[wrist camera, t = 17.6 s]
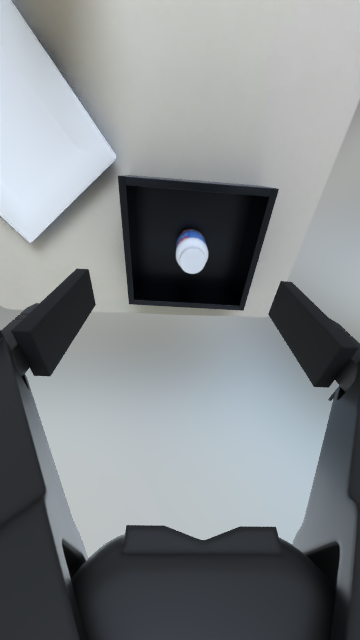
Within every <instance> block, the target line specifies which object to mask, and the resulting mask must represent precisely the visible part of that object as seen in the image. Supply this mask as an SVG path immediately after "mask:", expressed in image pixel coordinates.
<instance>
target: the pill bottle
mask: <svg viewBox="0 0 360 640" xmlns="http://www.w3.org/2000/svg"><path fill="white" fill-rule="evenodd" d="M207 259H208V249H207V245H206V242H205V239H204V237H203V235H202V234H201V233H200V232H199V231H198V230H195V229H187V230H184V231H183V232H182V233H181V234H180V235H179V236H178V238H177V242H176V260H177V262H178V264H179V265H180V266H181V268H182V269H183V270H184V271H185V272H187V273H189V274H195V273H198V272H200V271H201V270H202V269H203V268H204V266H205V263H206V262H207Z"/></svg>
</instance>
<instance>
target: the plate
mask: <svg viewBox="0 0 360 640" xmlns="http://www.w3.org/2000/svg"><path fill="white" fill-rule="evenodd" d="M115 160H116V154H115V153H114V151H113V150H112V148H111V147H110V146H109V144H108V143H107V141H106V140H105V138H104V137H103V135H102V134H101V132H100V131H99V129H98V128H97V126H96V125H95V123H94V122H93V120H92V119H91V117H90V116H89V115H88V113H87V112H86V110H85V109H84V107H83V106H82V104H81V103H80V101H79V100H78V98H77V97H76V95H75V94H74V92H73V91H72V89H71V88H70V86H69V85H68V84H67V82H66V81H65V79H64V78H63V76H62V75H61V73H60V72H59V70H58V69H57V67H56V66H55V64H54V63H53V61H52V60H51V58H50V57H49V55H48V54H47V53H46V51H45V50H44V48H43V47H42V45H41V44H40V42H39V41H38V39H37V38H36V36H35V35H34V33H33V32H32V30H31V29H30V27H29V26H28V24H27V23H26V22H25V20H24V19H23V17H22V16H21V14H20V13H19V11H18V10H17V8H16V7H15V5H14V4H13V2H12V1H11V0H0V216H1V217H2V218H4V219H5V220H6V221H7V222H8V223H9V224H10V225H11V226H12V227H13V228H14V229H15V230H16V231H18V232H19V233H20V234H21V235H22V236H23V237H24V238H25V239H26V240H27V241H28V242H31V243H32V242H33V241H34V240H35V239H36V238H37V237H38V236H39V235H40V234H41V233H42V232H43V231H44V230H45V229H46V228H47V227H48V226H49V225H50V224H51V223H52V222H53V221H54V220H55V219H56V218H57V217H58V216H59V215H60V214H61V213H62V212H63V211H64V210H65V209H66V208H67V207H68V206H69V205H70V204H71V203H72V202H73V201H74V200H75V199H76V198H77V197H78V196H79V195H80V194H81V193H82V192H83V191H84V190H85V189H86V188H87V187H88V186H89V185H90V184H91V183H92V182H93V181H94V180H95V179H96V178H97V177H98V176H99V175H100V174H101V173H102V172H104V171H105V170H106V169H107V168H108V167H109V166H110V165H111V164H112V163H113V162H114V161H115Z"/></svg>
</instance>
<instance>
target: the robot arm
mask: <svg viewBox="0 0 360 640" xmlns="http://www.w3.org/2000/svg"><path fill="white" fill-rule="evenodd" d="M94 306H95V300H94V294H93V289H92V284H91V279H90V274H89V269H76V270H75V271H74V272H73V273H72V274H71V275H70V276H69V277H67V278H66V279H65V280H64V281H63V282H62V283H61V284H60V285H59V286H58V287H57V288H56V289H55V290H54V291H53V292H51V293H50V294H49V295H48V296H47V297H46V298H45V299H44V300H43V301H42V302H41V303H36V304H34V305H32V306H30V307H28V308H26V309H25V310H24V311H23V312H22V313H21V314H20V315H18V316H17V317H16V318H15V320H13V321H12V322H10V323H9V324H8V325H7V326H6V327H5V328H4V329H3V330H1V331H0V640H360V343H358V342H357V341H356V340H355V339H354V338H353V337H352V336H350V334H349V333H348V332H347V331H345V329H344V328H343V327H342V326H340V325H339V324H338V323H336V322H335V321H333V320H331V319H329V318H328V317H327V316H326V315H325V314H324V313H323V312H322V311H321V310H320V309H319V308H318V307H317V306H316V305H315V304H314V303H313V302H312V301H310V300H309V299H308V298H307V297H306V296H305V295H304V294H303V293H302V292H301V291H300V290H299V289H298V288H297V287H296V286H295V285H294V284H293V283H292V282H284V281H281V282H280V285H279V287H278V290H277V293H276V295H275V298H274V301H273V303H272V306H271V309H270V311H269V314H268V315H269V316H270V318H271V319H272V321H273V322H274V324H275V326H276V327H277V329H278V330H279V332H280V334H281V335H282V337H283V338H284V340H285V341H286V343H287V345H288V346H289V348H290V349H291V351H292V353H293V354H294V356H295V357H296V359H297V360H298V362H299V364H300V365H301V367H302V368H303V370H304V372H305V373H306V375H307V376H308V378H309V379H310V381H311V383H312V384H313V386H314V387H329V386H330V385H331V384H332V382H333V381H334V380H336V381H337V383H338V384H339V385H340V386H339V387H338V388H337V389H336V391H335V392H334V393H333V394H332V395H331V397H330V398H329V400H330V401H331V400H332V399H333V404H332V408H331V412H330V416H329V420H328V424H327V429H326V432H325V436H324V440H323V444H322V449H321V453H320V457H319V461H318V465H317V469H316V473H315V477H314V482H313V486H312V489H311V494H310V498H309V502H308V506H307V510H306V514H305V518H304V521H303V523H302V526H301V527H300V529H299V531H298V532H297V534H296V536H295V538H294V541H293V544H290V543H288V542H287V541H284V540H283V539H281V538H279V537H278V533H277V530H276V527H238V528H235V529H233V530H230V531H228V532H225V533H222V534H220V535H218V536H215V537H212V538H210V539H207V540H199V539H197V538H194V537H191V536H189V535H186V534H184V533H181V532H179V531H176V530H174V529H171V528H168V527H166V526H140V525H139V526H138V525H137V526H136V525H127V526H126V533H125V534H124V535H121V536H118V537H116V538H115V539H113V540H111V541H109V542H108V543H106V544H105V545H103V546H102V547H101V548H99V549H98V550H97V551H96V552H95V553H94V554H93V555H92V556H91V557H89V558H88V556H87V554H86V551H85V547H84V545H83V542H82V539H81V537H80V534H79V532H78V530H77V528H76V525H75V523H74V521H73V518H72V516H71V513H70V509H69V506H68V503H67V500H66V497H65V494H64V491H63V488H62V485H61V482H60V479H59V475H58V472H57V469H56V466H55V463H54V460H53V457H52V454H51V451H50V448H49V445H48V441H47V438H46V435H45V432H44V429H43V426H42V423H41V420H40V417H39V414H38V411H37V408H36V404H35V401H34V398H33V395H32V392H31V389H30V386H29V383H28V380H27V377H26V375H25V372H26V371H27V370H28V369H29V367H30V369H31V371H32V372H33V375H34V376H50V375H51V374H52V373H53V371H54V370H55V368H56V366H57V365H58V363H59V362H60V360H61V359H62V357H63V355H64V354H65V352H66V351H67V349H68V347H69V346H70V344H71V343H72V341H73V339H74V338H75V336H76V335H77V333H78V332H79V330H80V329H81V327H82V325H83V324H84V322H85V321H86V319H87V317H88V316H89V314H90V313H91V311H92V310H93V308H94Z"/></svg>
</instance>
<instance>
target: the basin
mask: <svg viewBox="0 0 360 640" xmlns="http://www.w3.org/2000/svg"><path fill="white" fill-rule="evenodd" d="M118 183H119V194H120V205H121V217H122V228H123V240H124V251H125V263H126V274H127V286H128V297H129V304H136V305H154V306H172V307H190V308H208V309H226V310H244V307H245V303H246V300H247V296H248V293H249V289H250V286H251V283H252V279H253V276H254V272H255V269H256V265H257V262H258V258H259V255H260V252H261V248H262V245H263V241H264V238H265V234H266V231H267V227H268V224H269V221H270V217H271V214H272V210H273V207H274V203H275V200H276V197H277V193H278V190H279V189H276V188H270V187H264V186H255V185H243V184H231V183H218V182H206V181H194V180H182V179H169V178H157V177H145V176H132V175H126V176H118ZM187 229H195V230H198V231H199V232H200V233H201V234H202V235H203V237H204V239H205V242H206V245H207V249H208V259H207V262H206V263H205V266H204V268H203V269H202V270H201V271H200V272H198V273H195V274H189V273H187V272H185V271H184V270H183V269H182V268H181V266H180V265H179V264H178V262H177V260H176V242H177V238H178V236H179V235H180V234H181V233H182V232H183V231H184V230H187Z"/></svg>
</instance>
